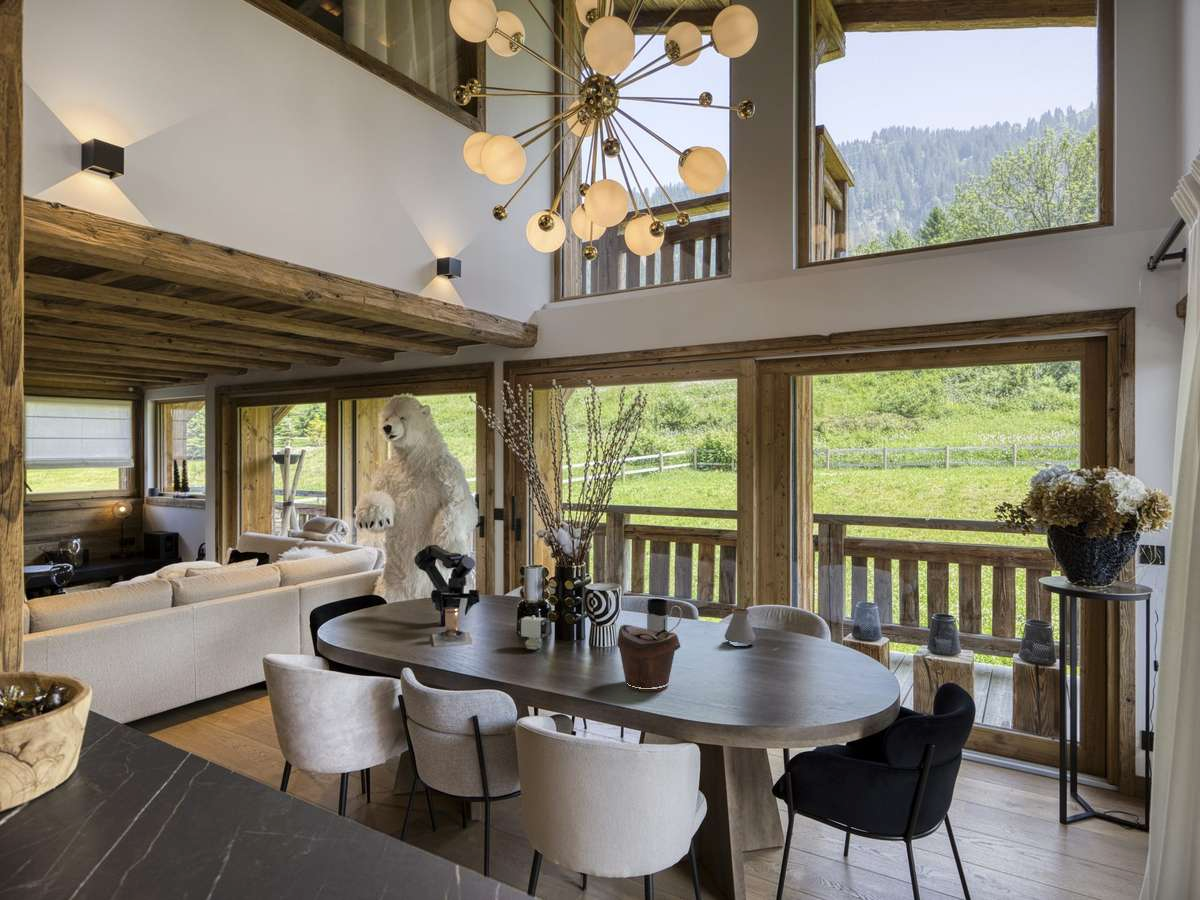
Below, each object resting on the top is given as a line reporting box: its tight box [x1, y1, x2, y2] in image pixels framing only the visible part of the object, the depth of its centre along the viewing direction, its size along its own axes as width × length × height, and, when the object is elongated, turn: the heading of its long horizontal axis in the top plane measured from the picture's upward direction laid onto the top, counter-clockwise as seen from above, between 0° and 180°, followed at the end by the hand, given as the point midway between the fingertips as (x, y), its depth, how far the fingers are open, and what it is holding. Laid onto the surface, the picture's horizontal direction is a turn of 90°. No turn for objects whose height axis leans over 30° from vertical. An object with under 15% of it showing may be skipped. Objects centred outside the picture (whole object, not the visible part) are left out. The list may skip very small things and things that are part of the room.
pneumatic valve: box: [515, 615, 551, 651], centre depth 253 cm, size 6×12×12 cm, turn 72°
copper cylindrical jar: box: [444, 607, 460, 636], centre depth 263 cm, size 5×5×11 cm
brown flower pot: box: [617, 624, 681, 693], centre depth 212 cm, size 18×20×18 cm
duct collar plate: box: [431, 630, 473, 647], centre depth 263 cm, size 14×14×2 cm
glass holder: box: [646, 598, 683, 633], centre depth 264 cm, size 9×14×15 cm, turn 64°
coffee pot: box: [724, 597, 757, 643], centre depth 263 cm, size 21×12×15 cm, turn 154°
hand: (453, 614), depth 268 cm, fingers open, 9 cm apart
